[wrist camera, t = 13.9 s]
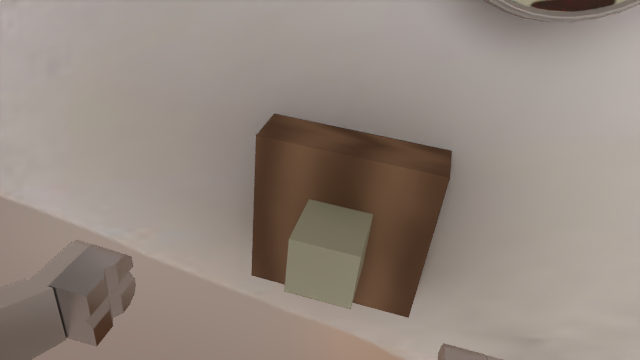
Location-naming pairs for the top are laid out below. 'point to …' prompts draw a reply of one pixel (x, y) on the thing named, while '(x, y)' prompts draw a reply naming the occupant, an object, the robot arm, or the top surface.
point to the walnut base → (350, 201)
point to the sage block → (327, 253)
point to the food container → (563, 8)
